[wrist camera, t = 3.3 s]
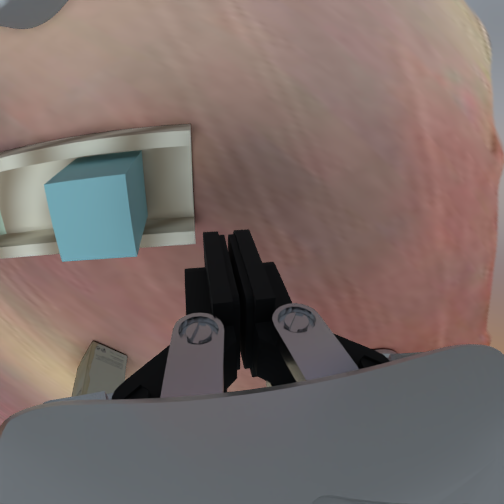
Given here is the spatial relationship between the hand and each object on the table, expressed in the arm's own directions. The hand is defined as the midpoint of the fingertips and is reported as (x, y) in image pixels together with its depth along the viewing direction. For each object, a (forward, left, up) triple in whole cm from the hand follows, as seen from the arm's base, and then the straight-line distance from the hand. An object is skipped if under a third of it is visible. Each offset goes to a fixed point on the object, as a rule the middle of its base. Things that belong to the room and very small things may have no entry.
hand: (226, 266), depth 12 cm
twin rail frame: (+11, 0, -13) cm, 17 cm away
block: (+7, 0, -12) cm, 14 cm away
